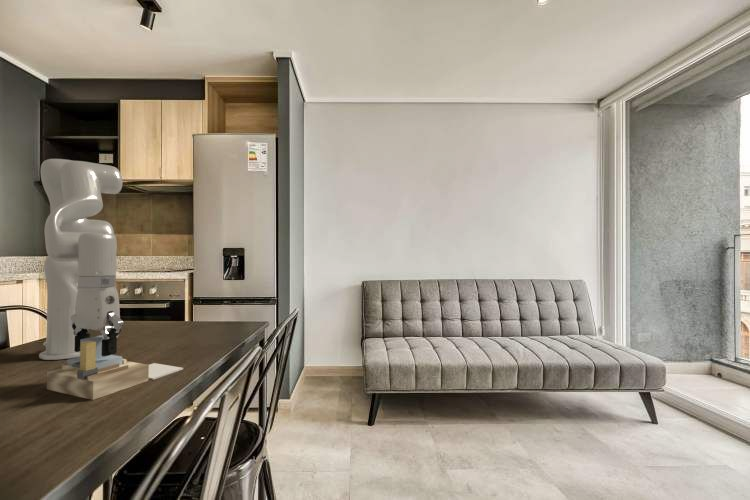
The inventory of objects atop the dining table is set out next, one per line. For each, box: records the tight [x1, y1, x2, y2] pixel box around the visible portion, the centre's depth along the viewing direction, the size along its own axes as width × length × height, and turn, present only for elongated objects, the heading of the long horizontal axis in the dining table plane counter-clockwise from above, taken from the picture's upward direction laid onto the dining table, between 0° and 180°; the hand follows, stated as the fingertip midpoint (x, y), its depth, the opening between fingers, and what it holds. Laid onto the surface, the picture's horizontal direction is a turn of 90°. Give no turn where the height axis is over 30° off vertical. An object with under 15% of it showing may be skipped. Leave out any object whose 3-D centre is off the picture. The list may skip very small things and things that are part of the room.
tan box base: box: [46, 358, 150, 400], centre depth 89 cm, size 16×13×5 cm
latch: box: [72, 341, 98, 380], centre depth 82 cm, size 5×3×8 cm, turn 70°
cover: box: [66, 334, 123, 369], centre depth 90 cm, size 9×7×7 cm
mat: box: [148, 362, 184, 381], centre depth 99 cm, size 11×9×1 cm
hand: (95, 352), depth 90 cm, fingers open, 9 cm apart
